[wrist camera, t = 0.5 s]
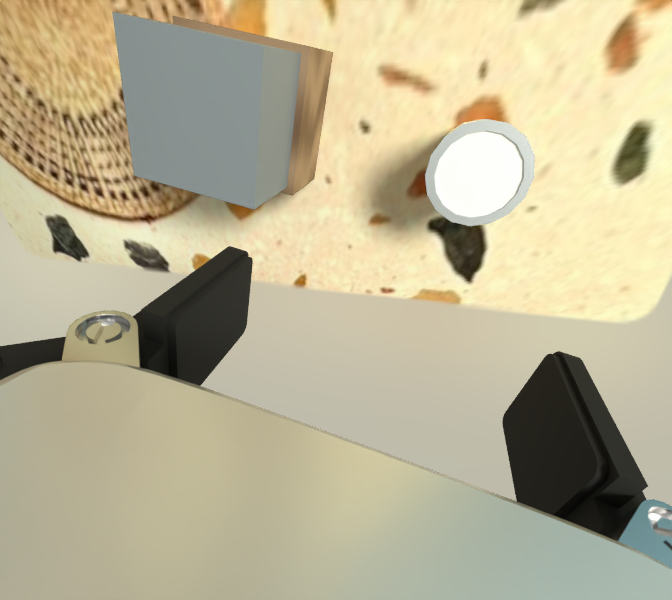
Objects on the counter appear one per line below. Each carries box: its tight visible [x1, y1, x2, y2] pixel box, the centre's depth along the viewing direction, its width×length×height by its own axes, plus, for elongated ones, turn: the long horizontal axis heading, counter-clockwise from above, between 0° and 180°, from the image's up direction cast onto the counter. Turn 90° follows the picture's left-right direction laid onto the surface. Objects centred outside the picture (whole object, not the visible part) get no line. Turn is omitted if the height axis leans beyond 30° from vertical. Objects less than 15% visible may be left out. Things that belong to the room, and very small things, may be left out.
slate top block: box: [113, 12, 301, 209], centre depth 24 cm, size 9×9×6 cm
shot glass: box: [425, 119, 535, 226], centre depth 27 cm, size 7×7×7 cm
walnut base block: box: [173, 16, 333, 195], centre depth 29 cm, size 10×10×6 cm
